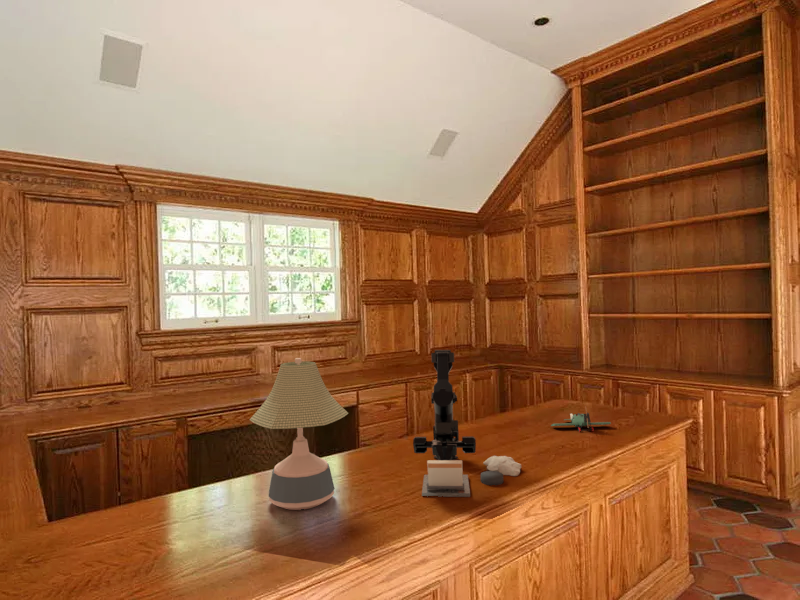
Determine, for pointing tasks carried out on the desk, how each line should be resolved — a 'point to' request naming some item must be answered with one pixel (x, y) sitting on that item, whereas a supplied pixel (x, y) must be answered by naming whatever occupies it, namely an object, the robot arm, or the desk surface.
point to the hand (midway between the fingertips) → (445, 471)
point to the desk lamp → (299, 434)
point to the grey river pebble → (491, 478)
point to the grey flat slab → (446, 492)
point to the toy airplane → (581, 421)
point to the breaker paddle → (445, 474)
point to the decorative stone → (503, 465)
